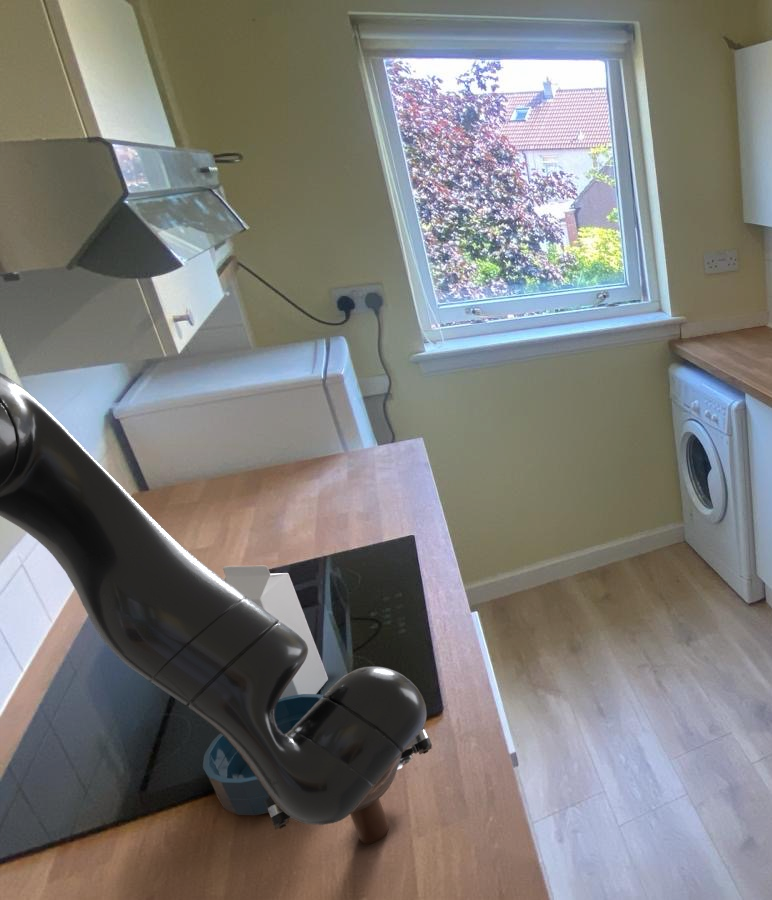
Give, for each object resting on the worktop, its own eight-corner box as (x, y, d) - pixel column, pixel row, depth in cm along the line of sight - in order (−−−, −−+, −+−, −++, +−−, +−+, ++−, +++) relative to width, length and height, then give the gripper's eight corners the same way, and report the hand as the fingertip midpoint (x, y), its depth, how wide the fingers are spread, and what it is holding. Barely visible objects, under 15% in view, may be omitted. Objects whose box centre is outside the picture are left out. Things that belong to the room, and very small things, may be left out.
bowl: (274, 833, 85) (256, 797, 82) (193, 798, 90) (174, 763, 87) (377, 743, 97) (365, 709, 94) (301, 716, 102) (288, 683, 99)
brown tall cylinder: (373, 847, 83) (348, 784, 79) (353, 839, 84) (328, 776, 80) (395, 825, 85) (372, 762, 81) (376, 817, 86) (352, 755, 82)
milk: (289, 680, 108) (237, 553, 99) (329, 679, 108) (282, 552, 99) (261, 710, 103) (204, 579, 94) (304, 709, 103) (251, 578, 94)
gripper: (419, 687, 70) (411, 713, 83) (241, 769, 62) (262, 785, 74) (450, 759, 69) (437, 774, 82) (273, 854, 60) (289, 855, 73)
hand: (354, 779), depth 78 cm, fingers open, 8 cm apart
